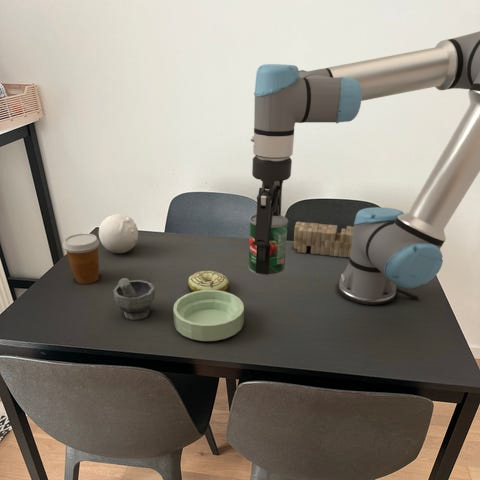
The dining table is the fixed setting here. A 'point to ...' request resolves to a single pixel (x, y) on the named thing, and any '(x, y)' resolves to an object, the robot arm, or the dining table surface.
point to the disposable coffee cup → (83, 256)
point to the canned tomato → (276, 247)
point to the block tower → (323, 239)
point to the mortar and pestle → (134, 297)
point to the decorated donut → (208, 281)
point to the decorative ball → (118, 233)
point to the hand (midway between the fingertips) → (266, 264)
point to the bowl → (208, 315)
